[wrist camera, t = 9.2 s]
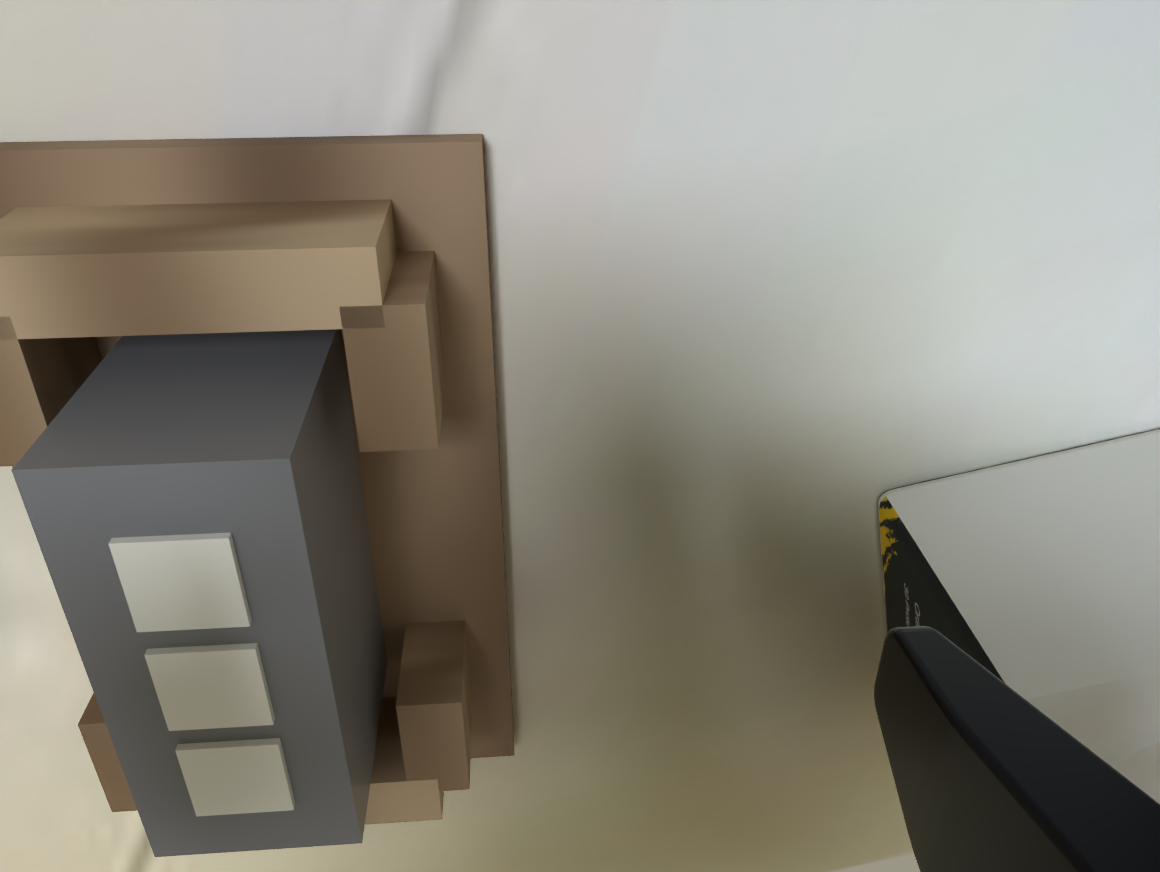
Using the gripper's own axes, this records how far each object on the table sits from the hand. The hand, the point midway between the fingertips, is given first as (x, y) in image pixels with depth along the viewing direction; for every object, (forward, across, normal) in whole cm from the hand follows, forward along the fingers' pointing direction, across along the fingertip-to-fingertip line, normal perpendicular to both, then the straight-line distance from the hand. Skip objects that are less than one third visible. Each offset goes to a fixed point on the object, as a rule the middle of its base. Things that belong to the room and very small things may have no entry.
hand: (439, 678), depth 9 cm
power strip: (+10, +5, +5) cm, 12 cm away
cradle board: (+11, +5, +5) cm, 13 cm away
